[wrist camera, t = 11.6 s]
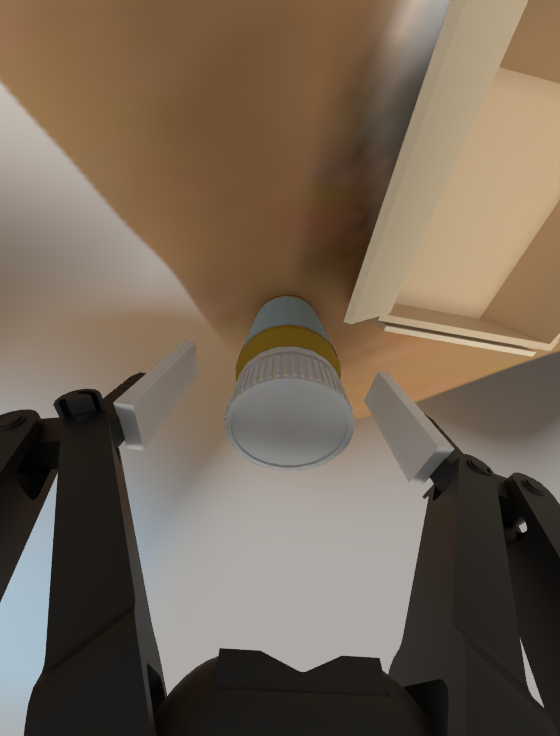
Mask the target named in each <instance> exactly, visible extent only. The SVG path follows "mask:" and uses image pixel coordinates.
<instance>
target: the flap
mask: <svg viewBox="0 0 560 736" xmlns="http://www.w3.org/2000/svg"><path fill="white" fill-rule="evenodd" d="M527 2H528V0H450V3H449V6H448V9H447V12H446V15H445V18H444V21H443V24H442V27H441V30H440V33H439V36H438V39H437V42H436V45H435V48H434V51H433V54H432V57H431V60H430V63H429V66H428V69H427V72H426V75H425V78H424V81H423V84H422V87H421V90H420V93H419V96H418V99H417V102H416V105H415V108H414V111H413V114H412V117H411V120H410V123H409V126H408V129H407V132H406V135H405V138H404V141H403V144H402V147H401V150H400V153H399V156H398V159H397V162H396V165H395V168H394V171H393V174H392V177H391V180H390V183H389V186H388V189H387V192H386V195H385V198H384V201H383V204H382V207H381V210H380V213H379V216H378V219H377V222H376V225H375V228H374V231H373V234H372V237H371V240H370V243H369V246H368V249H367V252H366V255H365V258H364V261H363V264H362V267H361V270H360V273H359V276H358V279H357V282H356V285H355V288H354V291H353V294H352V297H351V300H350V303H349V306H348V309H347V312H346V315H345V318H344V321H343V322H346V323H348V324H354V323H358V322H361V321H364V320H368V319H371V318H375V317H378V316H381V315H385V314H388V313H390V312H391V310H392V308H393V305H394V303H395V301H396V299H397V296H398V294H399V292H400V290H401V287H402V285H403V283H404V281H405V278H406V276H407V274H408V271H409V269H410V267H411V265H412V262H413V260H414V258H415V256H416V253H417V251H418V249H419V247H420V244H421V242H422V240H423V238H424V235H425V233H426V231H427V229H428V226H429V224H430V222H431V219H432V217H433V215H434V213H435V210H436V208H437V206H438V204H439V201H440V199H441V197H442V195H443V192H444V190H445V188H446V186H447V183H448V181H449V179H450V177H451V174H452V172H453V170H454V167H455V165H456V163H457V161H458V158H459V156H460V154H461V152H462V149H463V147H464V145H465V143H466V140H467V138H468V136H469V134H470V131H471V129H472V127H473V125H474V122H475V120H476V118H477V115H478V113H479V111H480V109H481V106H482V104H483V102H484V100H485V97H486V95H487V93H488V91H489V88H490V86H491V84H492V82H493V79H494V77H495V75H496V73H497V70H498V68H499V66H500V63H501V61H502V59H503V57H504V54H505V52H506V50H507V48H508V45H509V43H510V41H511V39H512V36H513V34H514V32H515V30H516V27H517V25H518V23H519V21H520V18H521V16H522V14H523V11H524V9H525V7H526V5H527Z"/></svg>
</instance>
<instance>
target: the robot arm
mask: <svg viewBox="0 0 560 736" xmlns="http://www.w3.org/2000/svg"><path fill="white" fill-rule="evenodd" d="M196 364H197V363H196V342H190V341H183V342H182V343H181V344H180V345H179V346H177V347H176V348H175V349H174V350H173V351H172V352H170V353H169V354H168V355H167V356H166V357H165V358H164V359H162V360H161V361H160V362H159V363H158V364H157V365H156V366H154V367H153V368H152V369H151V370H150V371H149V372H148V373H141V372H140V373H138V374H135V375H133V376H131V377H129V378H128V379H127V380H126V381H124V382H123V384H121V385H119V386H118V387H117V389H114V390H113V391H112V392H111V393H109V394H108V395H107V396H106V397H105V398H103V399H102V396H101V394H100V392H99V391H97V390H94V389H81V390H76V391H72V392H69V393H67V394H65V395H62V396H61V397H59V398H58V399H57V400H56V401H55V402H54V404H53V405H54V407H55V409H56V411H57V413H58V415H59V418H47V419H41V418H40V416H39V414H38V413H37V412H36V411H34V410H18V411H12V412H9V413H6V414H3V415H0V601H1V599H2V597H3V595H4V593H5V590H6V588H7V585H8V583H9V581H10V579H11V577H12V574H13V572H14V570H15V568H16V565H17V563H18V561H19V559H20V556H21V554H22V552H23V550H24V547H25V545H26V542H27V540H28V538H29V536H30V534H31V531H32V529H33V527H34V524H35V522H36V520H37V518H38V516H39V513H40V511H41V509H42V507H43V504H44V502H45V500H46V498H47V495H48V493H49V491H50V488H51V486H52V484H53V482H54V479H55V477H56V475H57V473H58V479H57V480H58V481H57V494H56V509H55V524H54V538H53V553H52V568H51V582H50V597H49V611H48V626H47V641H46V655H45V663H44V667H43V671H42V673H41V675H40V677H39V679H38V681H37V682H36V684H35V686H34V687H33V690H32V694H31V697H30V700H29V704H28V709H27V716H26V722H25V730H24V736H560V504H559V503H558V502H557V500H556V499H555V497H554V496H553V495H552V494H551V493H550V491H549V490H548V489H546V488H545V487H544V486H543V485H542V484H541V483H540V482H538V481H536V480H535V479H533V478H531V477H529V476H527V475H524V474H521V473H513V474H512V475H511V476H510V477H509V478H505V477H502V476H499V475H497V474H494V472H493V471H492V470H491V469H490V468H489V467H488V466H487V465H486V464H485V463H484V462H482V461H480V460H479V459H477V458H475V457H473V456H471V455H467V454H463V453H462V452H461V451H460V449H459V448H458V447H457V446H456V445H455V444H454V443H453V442H452V440H451V439H450V438H449V437H448V436H447V435H446V434H444V432H443V430H442V429H440V428H439V426H438V425H437V424H436V423H435V422H434V420H432V419H431V418H430V417H428V416H427V415H426V414H424V413H423V412H422V411H421V410H420V409H419V408H418V406H417V405H416V404H415V403H414V402H413V401H412V400H411V398H410V397H409V396H408V395H407V394H406V393H405V391H404V390H403V389H402V388H401V387H400V386H399V385H398V383H397V382H396V381H395V380H394V379H393V378H392V377H391V375H390V374H389V373H386V372H379V371H378V373H377V375H376V377H375V379H374V381H373V384H372V386H371V388H370V390H369V392H368V394H367V396H366V398H365V403H366V405H367V407H368V408H369V410H370V412H371V414H372V416H373V417H374V419H375V421H376V423H377V425H378V426H379V429H380V430H381V432H382V434H383V436H384V437H385V439H386V441H387V443H388V445H389V447H390V449H391V451H392V452H393V454H394V456H395V458H396V460H397V462H398V463H399V465H400V467H401V469H402V471H403V472H404V474H405V476H406V478H407V480H408V482H409V483H414V484H424V483H425V482H426V481H427V479H428V478H429V477H430V478H431V480H432V481H433V483H434V484H433V486H432V487H431V488H430V489H429V490H428V491H427V492H426V493H425V494H424V496H423V498H424V499H425V498H426V497H427V496H429V498H428V504H427V509H426V515H425V520H424V526H423V531H422V536H421V542H420V547H419V553H418V558H417V563H416V569H415V574H414V580H413V585H412V590H411V596H410V602H409V607H408V612H407V618H406V624H405V629H404V634H403V639H402V643H401V646H400V649H399V650H398V652H397V654H396V656H395V657H394V659H393V661H392V664H391V666H390V670H389V674H386V673H385V672H384V671H382V667H381V663H380V659H379V658H370V657H353V656H352V657H351V656H340V657H338V658H336V659H334V660H332V661H329V662H327V663H325V664H322V665H320V666H318V667H316V668H314V669H311V670H309V671H307V672H299V671H297V670H295V669H293V668H292V667H290V666H288V665H286V664H284V663H282V662H280V661H278V660H277V659H275V658H273V657H271V656H269V655H267V654H265V653H264V652H262V651H254V650H239V649H222V648H220V650H219V656H218V657H216V658H212V659H210V660H208V661H206V662H204V663H203V664H201V665H200V666H198V667H196V668H195V669H194V670H193V671H191V672H190V673H189V674H188V675H186V676H185V677H184V678H183V679H182V680H181V681H180V682H179V683H178V684H177V685H176V686H175V687H174V689H173V690H172V691H171V692H170V693H169V695H168V696H167V693H166V688H165V682H164V677H163V672H162V666H161V662H160V657H159V652H158V647H157V643H156V639H155V636H154V632H153V628H152V623H151V617H150V612H149V607H148V601H147V596H146V591H145V586H144V580H143V574H142V569H141V563H140V558H139V553H138V547H137V542H136V536H135V532H134V526H133V520H132V515H131V510H130V504H129V499H128V493H127V488H126V483H125V477H124V472H123V466H122V461H121V456H120V451H119V448H118V447H119V445H121V443H122V442H123V441H124V440H125V443H126V446H127V448H128V449H137V450H145V448H146V447H147V446H148V444H149V443H150V441H151V440H152V438H153V437H154V436H155V434H156V433H157V432H158V430H159V429H160V427H161V426H162V424H163V423H164V422H165V420H166V419H167V417H168V416H169V415H170V413H171V412H172V410H173V409H174V407H175V406H176V405H177V403H178V402H179V401H180V399H181V398H182V396H183V395H184V394H185V392H186V391H187V389H188V388H189V386H190V385H191V384H192V382H193V381H194V379H195V378H196V377H197V366H196ZM524 522H526V525H527V531H526V532H524V533H522V532H521V530H520V528H519V525H521V524H522V523H524ZM520 638H521V642H522V644H523V647H524V650H525V653H526V656H527V659H528V662H529V665H530V668H531V670H532V673H533V676H534V679H535V682H536V685H537V688H538V690H539V694H540V697H541V699H542V702H543V705H544V708H545V709H544V708H543V707H542V706H541V705H540V704H539V703H538V702H537V701H536V700H535V699H534V698H533V697H532V695H531V693H530V692H529V689H528V686H527V682H526V677H525V669H524V663H523V656H522V650H521V643H520Z"/></svg>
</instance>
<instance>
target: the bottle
mask: <svg viewBox="0 0 560 736" xmlns="http://www.w3.org/2000/svg"><path fill="white" fill-rule="evenodd" d="M340 377H341V372H340V363H339V360H338V357H337V355H336V352H335V350H334V348H333V346H332V344H331V342H330V340H329V338H328V336H327V334H326V332H325V330H324V328H323V326H322V324H321V322H320V320H319V318H318V316H317V314H316V312H315V310H314V309H313V307H312V306H311V305H310V304H308V303H307V302H306V301H305V300H303V299H300V298H298V297H295V296H287V295H286V296H280V297H276V298H273V299H272V300H270V301H268V302H267V303H265V304H264V305H263V307H262V308H261V309H260V310H259V312H258V314H257V316H256V318H255V320H254V323H253V325H252V327H251V330H250V332H249V334H248V337H247V339H246V341H245V344H244V346H243V348H242V351H241V353H240V356H239V358H238V362H237V365H236V381H237V383H236V386H235V388H234V390H233V393H232V396H231V398H230V401H229V404H228V407H227V409H226V413H225V431H226V435H227V438H228V440H229V442H230V444H231V445H232V447H233V448H234V449H235V450H236V451H237V452H238V453H239V454H240V455H241V456H243V457H244V458H245V459H247V460H249V461H251V462H252V463H254V464H256V465H259V466H262V467H265V468H268V469H273V470H280V471H299V470H306V469H310V468H314V467H317V466H320V465H323V464H325V463H327V462H329V461H331V460H332V459H334V458H335V457H337V456H338V455H339V454H340V453H341V452H342V451H343V450H344V449H345V448H346V447H347V445H348V444H349V442H350V440H351V438H352V435H353V431H354V414H353V410H352V407H351V405H350V402H349V400H348V398H347V395H346V393H345V391H344V388H343V386H342V383H341V382H340Z"/></svg>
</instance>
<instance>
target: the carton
mask: <svg viewBox="0 0 560 736" xmlns="http://www.w3.org/2000/svg"><path fill="white" fill-rule="evenodd" d="M370 320H371V321H372V322H374V323H375V324H376V325H377V326H379V327H380V328H381V329H382V330H383V331H387V332H393V333H399V334H405V335H410V336H416V337H422V338H428V339H433V340H439V341H445V342H451V343H457V344H462V345H468V346H474V347H480V348H485V349H491V350H497V351H503V352H508V353H514V354H520V355H526V356H531V357H533V355H534V354H535V353H536V352H535V351H532V350H530V349H527V348H525V347H530V348H536V349H542V350H547V351H551V350H552V348H553V347H554V346H555V345H556V344H557V343H558V342H559V341H560V0H528V2H527V5H526V7H525V9H524V11H523V14H522V16H521V18H520V21H519V23H518V25H517V27H516V30H515V32H514V34H513V36H512V39H511V41H510V43H509V45H508V48H507V50H506V52H505V54H504V57H503V59H502V61H501V63H500V66H499V68H498V70H497V73H496V75H495V77H494V79H493V82H492V84H491V86H490V88H489V91H488V93H487V95H486V97H485V100H484V102H483V104H482V106H481V109H480V111H479V113H478V115H477V118H476V120H475V122H474V125H473V127H472V129H471V131H470V134H469V136H468V138H467V140H466V143H465V145H464V147H463V149H462V152H461V154H460V156H459V158H458V161H457V163H456V165H455V167H454V170H453V172H452V174H451V177H450V179H449V181H448V183H447V186H446V188H445V190H444V192H443V195H442V197H441V199H440V201H439V204H438V206H437V208H436V210H435V213H434V215H433V217H432V219H431V222H430V224H429V226H428V229H427V231H426V233H425V235H424V238H423V240H422V242H421V244H420V247H419V249H418V251H417V253H416V256H415V258H414V260H413V262H412V265H411V267H410V269H409V271H408V274H407V276H406V278H405V281H404V283H403V285H402V287H401V290H400V292H399V294H398V296H397V299H396V301H395V303H394V305H393V308H392V310H391V312H390V313H388V314H385V315H381V316H378V317H375V318H371V319H370ZM522 346H525V347H522Z"/></svg>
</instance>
